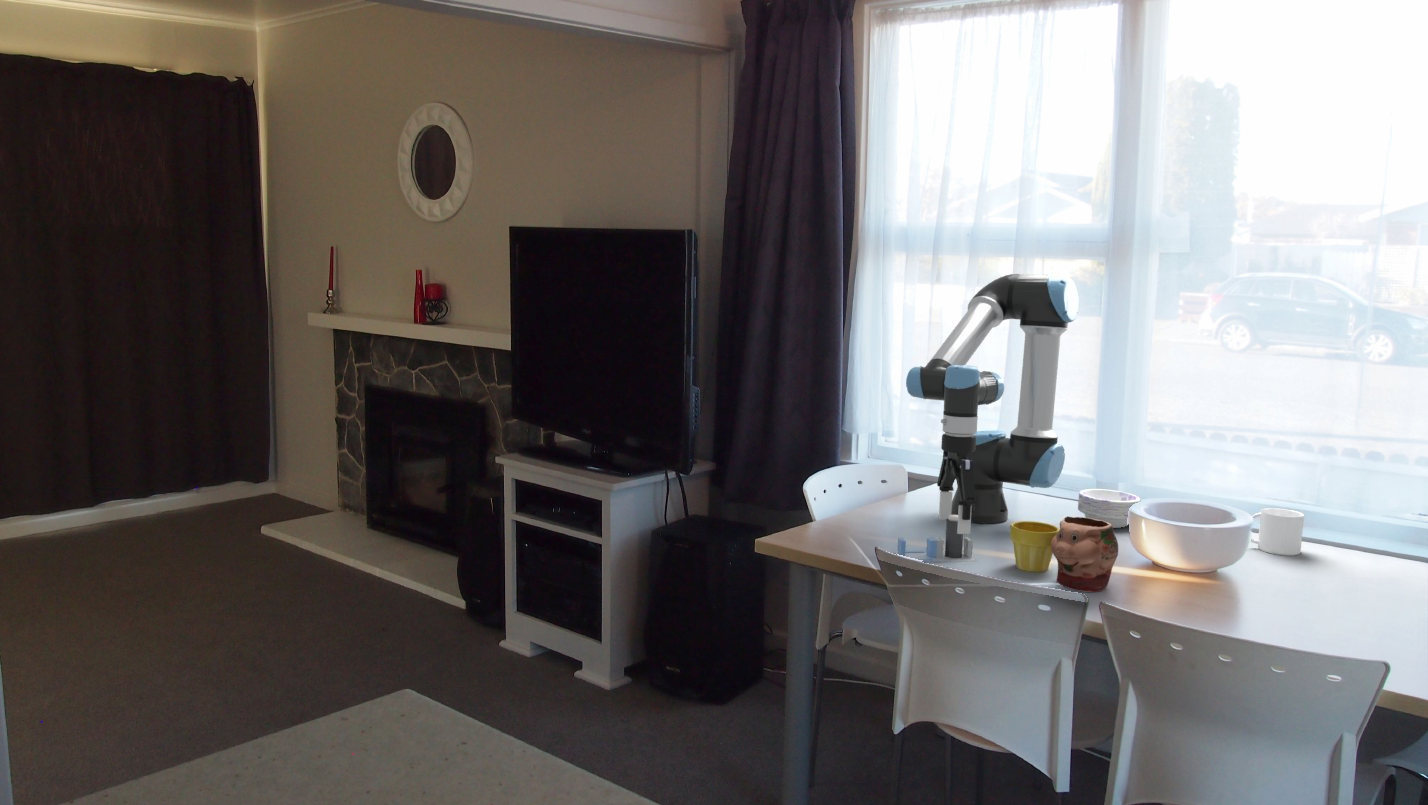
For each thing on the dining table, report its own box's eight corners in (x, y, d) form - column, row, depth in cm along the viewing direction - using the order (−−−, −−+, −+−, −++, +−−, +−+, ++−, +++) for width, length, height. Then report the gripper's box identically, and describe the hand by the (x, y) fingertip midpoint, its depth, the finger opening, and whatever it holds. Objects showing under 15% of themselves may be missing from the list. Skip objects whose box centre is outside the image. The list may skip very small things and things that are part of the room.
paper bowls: (1151, 526, 265) (1153, 496, 264) (1115, 534, 257) (1117, 503, 256) (1100, 514, 278) (1102, 485, 277) (1064, 521, 269) (1066, 492, 268)
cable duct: (965, 553, 238) (965, 534, 237) (976, 563, 230) (977, 543, 229) (893, 553, 236) (894, 534, 236) (902, 563, 228) (903, 544, 228)
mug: (1303, 549, 245) (1306, 512, 244) (1297, 558, 238) (1301, 519, 237) (1247, 541, 252) (1250, 504, 251) (1240, 549, 245) (1244, 511, 244)
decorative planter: (1078, 568, 227) (1082, 507, 225) (1133, 581, 218) (1137, 517, 217) (1035, 587, 213) (1039, 522, 211) (1091, 601, 204) (1096, 534, 202)
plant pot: (1057, 565, 229) (1060, 523, 228) (1056, 578, 219) (1059, 534, 218) (1009, 560, 232) (1011, 518, 231) (1006, 573, 223) (1009, 529, 221)
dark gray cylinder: (958, 553, 235) (960, 514, 234) (964, 558, 232) (966, 518, 230) (942, 553, 235) (944, 514, 234) (947, 558, 231) (949, 518, 230)
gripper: (926, 425, 242) (922, 513, 244) (960, 442, 217) (955, 539, 220) (957, 426, 242) (952, 513, 245) (994, 443, 218) (989, 540, 220)
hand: (953, 526), depth 232 cm, fingers open, 13 cm apart
